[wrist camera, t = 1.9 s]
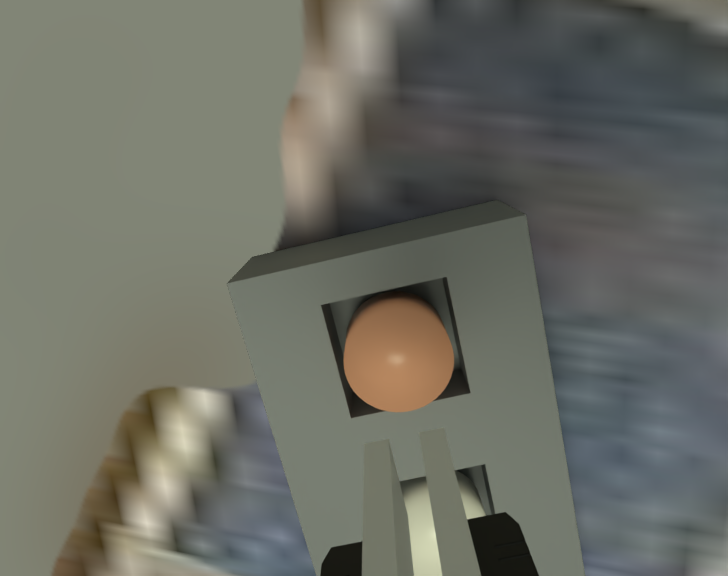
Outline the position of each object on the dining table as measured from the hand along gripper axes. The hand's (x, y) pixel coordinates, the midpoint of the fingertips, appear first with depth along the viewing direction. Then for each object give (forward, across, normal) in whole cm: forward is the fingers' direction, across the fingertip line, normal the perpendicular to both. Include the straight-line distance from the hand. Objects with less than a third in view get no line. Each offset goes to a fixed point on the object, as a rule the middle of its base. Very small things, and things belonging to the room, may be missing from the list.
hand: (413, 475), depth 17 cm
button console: (+16, 0, +10) cm, 19 cm away
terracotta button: (+12, 0, 0) cm, 12 cm away
